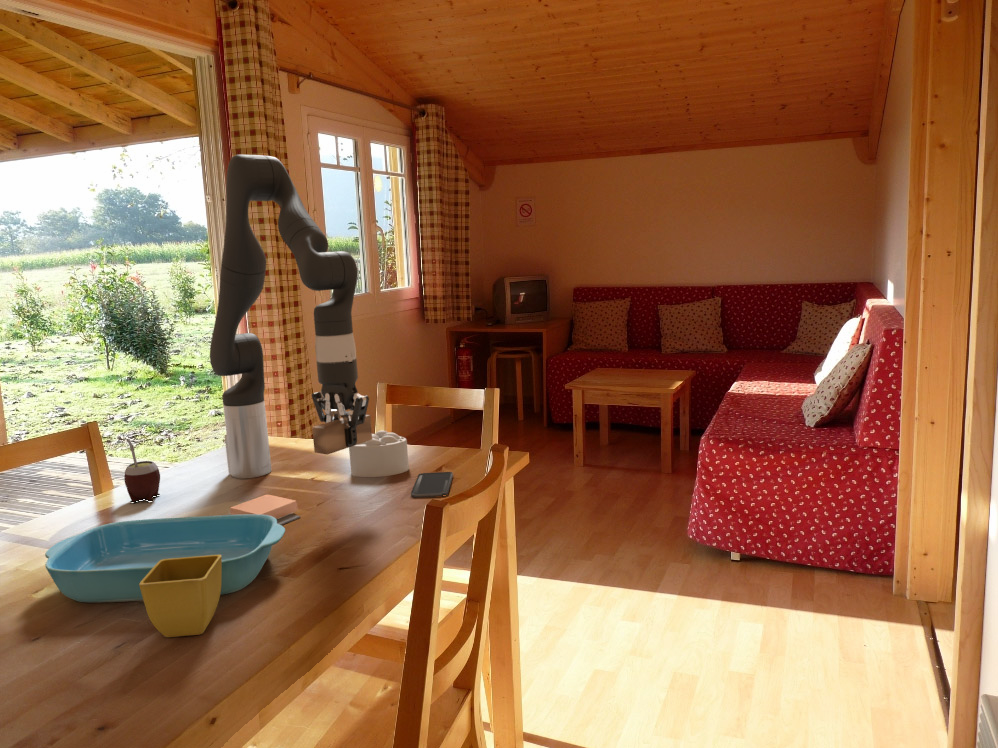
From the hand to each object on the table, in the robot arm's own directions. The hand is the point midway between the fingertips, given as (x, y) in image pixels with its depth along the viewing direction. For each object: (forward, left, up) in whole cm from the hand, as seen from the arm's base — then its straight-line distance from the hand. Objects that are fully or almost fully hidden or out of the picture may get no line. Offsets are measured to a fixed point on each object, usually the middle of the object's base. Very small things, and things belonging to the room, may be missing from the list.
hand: (343, 444), depth 151 cm
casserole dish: (-4, -36, -14) cm, 39 cm away
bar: (0, 0, 0) cm, 0 cm away
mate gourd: (-47, -15, -14) cm, 51 cm away
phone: (+4, +21, -15) cm, 26 cm away
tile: (-14, -5, -12) cm, 19 cm away
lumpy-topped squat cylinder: (-15, +25, -14) cm, 32 cm away
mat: (-14, -11, -14) cm, 23 cm away
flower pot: (+14, -45, -14) cm, 49 cm away
